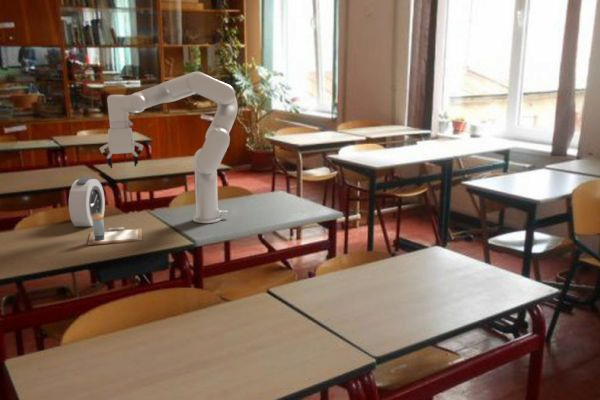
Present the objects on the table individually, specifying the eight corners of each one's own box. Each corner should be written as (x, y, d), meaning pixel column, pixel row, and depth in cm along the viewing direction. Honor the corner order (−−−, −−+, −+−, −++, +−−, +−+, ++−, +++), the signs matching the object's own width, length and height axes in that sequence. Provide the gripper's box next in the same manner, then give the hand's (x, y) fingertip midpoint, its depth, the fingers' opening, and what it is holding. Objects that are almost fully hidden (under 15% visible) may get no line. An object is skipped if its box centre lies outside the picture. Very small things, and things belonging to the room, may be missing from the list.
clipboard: (141, 229, 239) (141, 226, 239) (141, 241, 224) (141, 237, 224) (91, 233, 234) (90, 229, 234) (87, 244, 219) (87, 241, 219)
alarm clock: (88, 229, 239) (83, 183, 234) (71, 229, 239) (65, 183, 234) (106, 214, 259) (101, 172, 254) (90, 215, 260) (85, 172, 255)
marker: (105, 237, 226) (103, 213, 224) (104, 240, 222) (102, 215, 220) (94, 238, 225) (92, 213, 223) (93, 241, 221) (91, 216, 219)
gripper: (141, 123, 238) (144, 163, 243) (97, 125, 233) (101, 166, 238) (141, 125, 231) (145, 166, 236) (96, 127, 226) (101, 169, 231)
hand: (123, 166), depth 237 cm, fingers open, 9 cm apart
